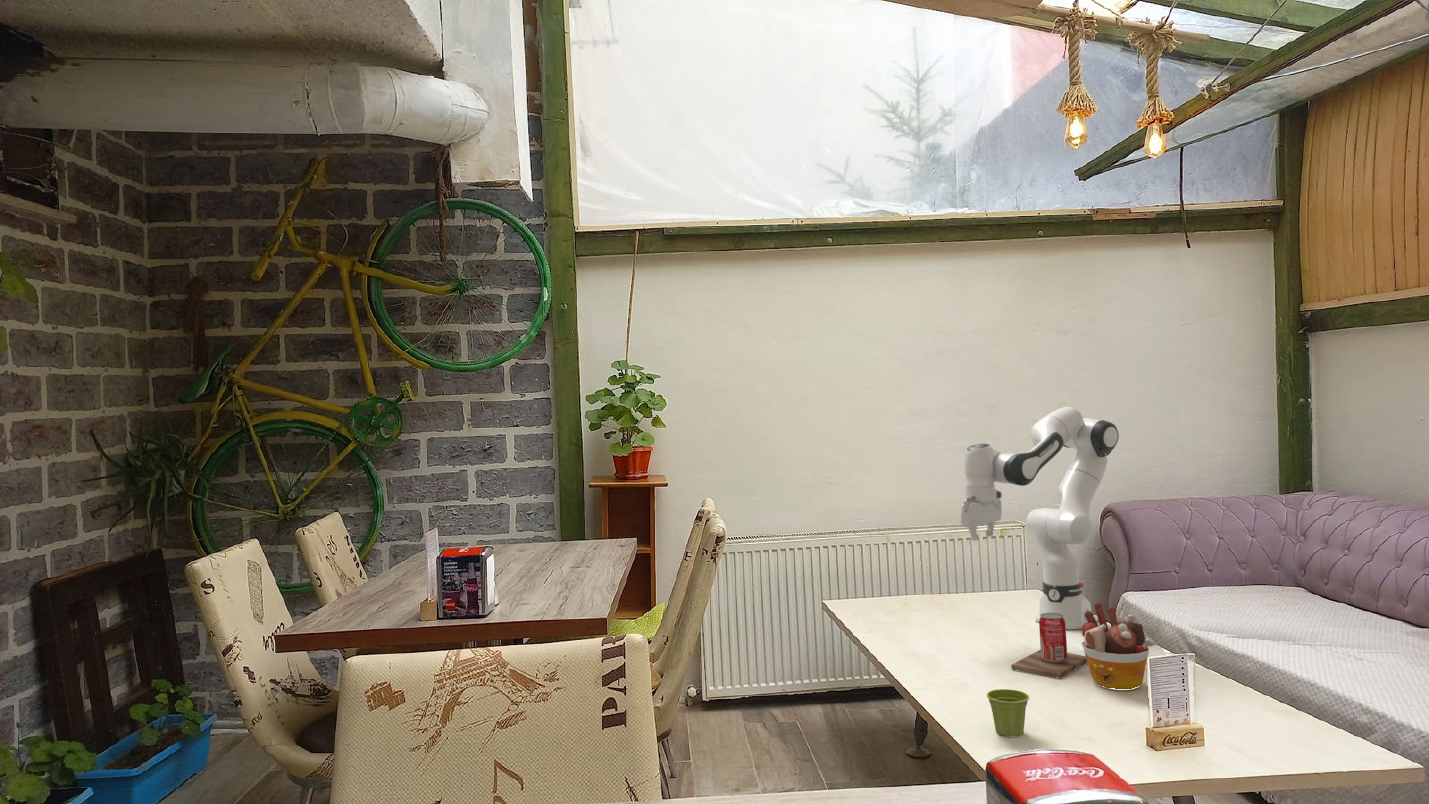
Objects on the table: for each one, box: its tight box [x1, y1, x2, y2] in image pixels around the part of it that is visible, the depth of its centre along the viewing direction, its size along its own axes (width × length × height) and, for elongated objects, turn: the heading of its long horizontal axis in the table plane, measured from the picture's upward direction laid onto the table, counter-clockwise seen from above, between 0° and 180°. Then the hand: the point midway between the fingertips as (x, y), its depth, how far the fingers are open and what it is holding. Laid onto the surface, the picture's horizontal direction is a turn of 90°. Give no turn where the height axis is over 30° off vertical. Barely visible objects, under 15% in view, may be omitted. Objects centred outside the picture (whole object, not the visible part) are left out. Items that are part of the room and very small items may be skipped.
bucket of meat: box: [1081, 601, 1156, 689], centre depth 230 cm, size 20×16×20 cm
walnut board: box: [1011, 649, 1088, 679], centre depth 248 cm, size 20×14×2 cm
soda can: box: [1038, 613, 1068, 663], centre depth 248 cm, size 7×7×13 cm
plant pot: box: [986, 688, 1030, 737], centre depth 200 cm, size 9×9×9 cm
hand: (982, 538), depth 275 cm, fingers open, 8 cm apart
